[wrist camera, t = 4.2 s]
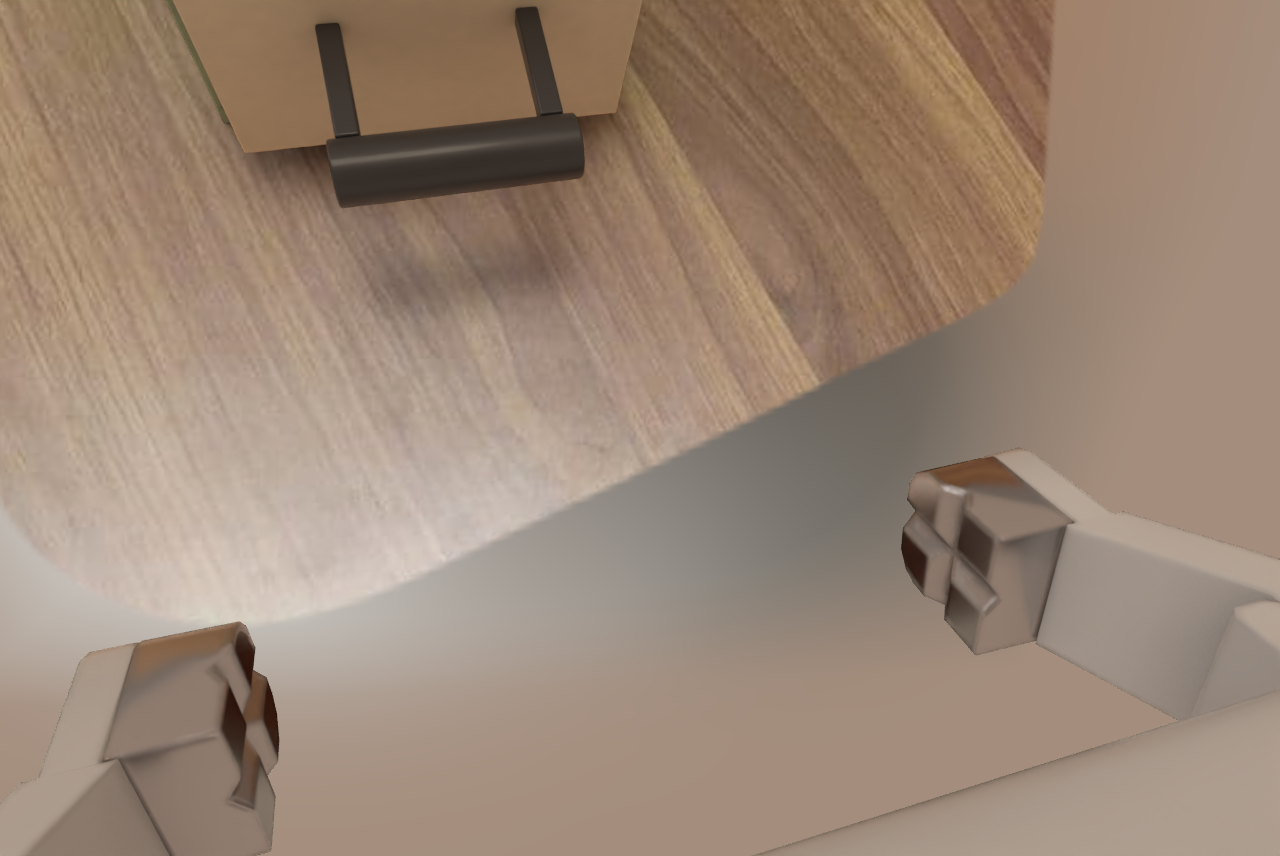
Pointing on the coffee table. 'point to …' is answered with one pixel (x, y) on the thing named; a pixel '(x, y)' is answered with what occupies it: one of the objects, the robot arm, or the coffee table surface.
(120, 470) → the coffee table surface
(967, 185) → the coffee table surface
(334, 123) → the drawer
